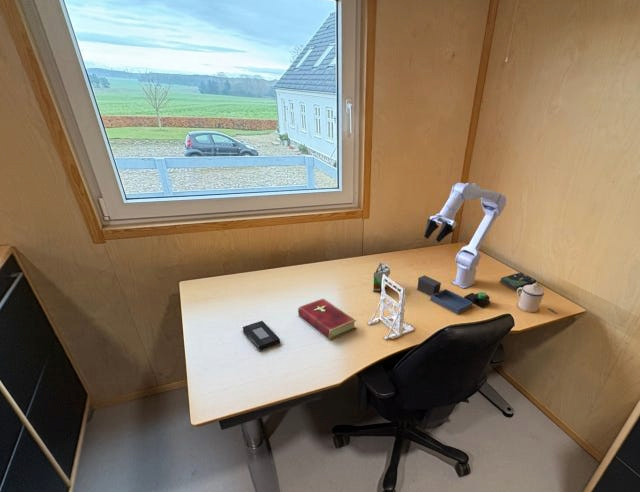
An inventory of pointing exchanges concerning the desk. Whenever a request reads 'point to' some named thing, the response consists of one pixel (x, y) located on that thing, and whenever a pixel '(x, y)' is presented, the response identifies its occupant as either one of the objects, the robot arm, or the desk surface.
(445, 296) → the open rectangular tray
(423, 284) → the dark grey block
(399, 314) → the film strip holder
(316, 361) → the desk surface
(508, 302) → the desk surface
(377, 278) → the food container
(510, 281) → the disk drive
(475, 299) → the panel
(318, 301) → the hardcover book
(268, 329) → the vhs tape
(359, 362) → the desk surface
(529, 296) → the teacup with lid
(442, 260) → the desk surface
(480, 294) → the button
